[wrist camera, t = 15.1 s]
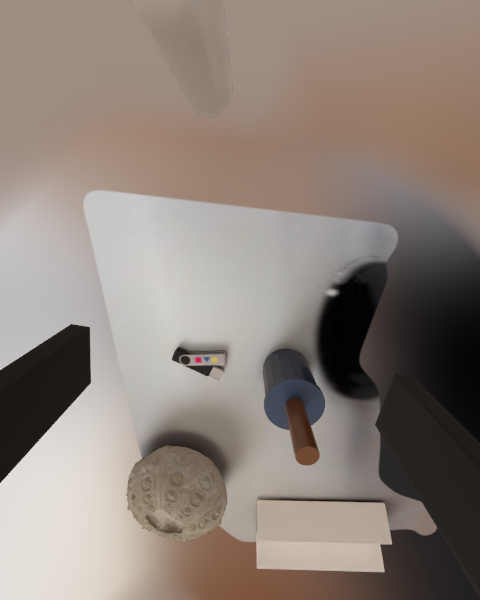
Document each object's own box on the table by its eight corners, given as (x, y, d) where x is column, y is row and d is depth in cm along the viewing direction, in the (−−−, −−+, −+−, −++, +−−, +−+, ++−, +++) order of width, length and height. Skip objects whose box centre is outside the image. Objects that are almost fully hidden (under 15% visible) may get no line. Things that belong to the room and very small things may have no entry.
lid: (270, 370, 36) (277, 419, 27) (329, 379, 36) (356, 431, 28) (258, 419, 39) (262, 479, 30) (314, 428, 39) (334, 489, 30)
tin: (267, 345, 44) (272, 375, 36) (312, 352, 44) (327, 383, 36) (259, 384, 46) (262, 420, 38) (301, 390, 46) (313, 428, 38)
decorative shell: (239, 501, 53) (228, 567, 43) (158, 495, 57) (132, 553, 48) (221, 433, 46) (203, 493, 37) (131, 431, 50) (95, 484, 41)
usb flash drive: (172, 357, 45) (170, 360, 44) (184, 331, 43) (183, 334, 42) (218, 378, 46) (218, 382, 45) (232, 354, 44) (232, 357, 43)
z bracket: (256, 493, 59) (257, 500, 53) (371, 496, 58) (384, 503, 53) (256, 567, 54) (258, 583, 48) (383, 571, 53) (400, 587, 48)
